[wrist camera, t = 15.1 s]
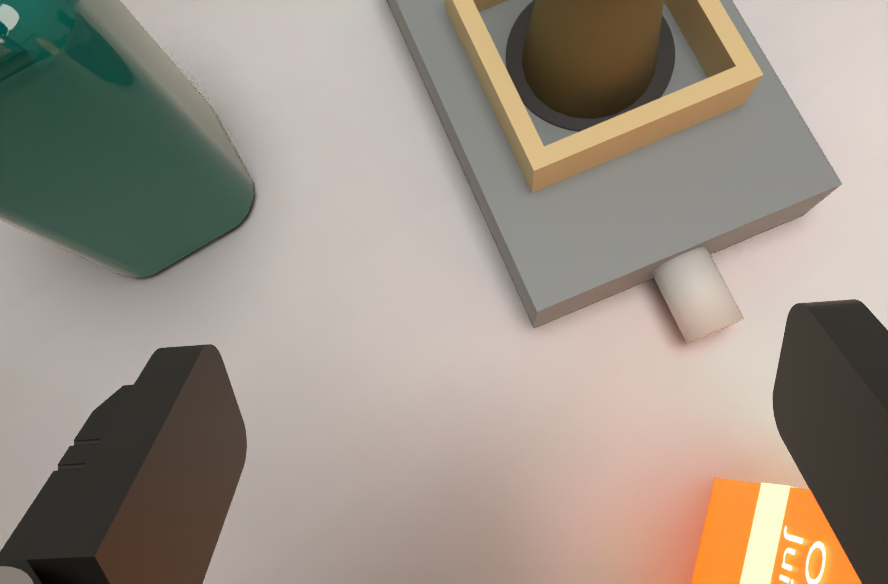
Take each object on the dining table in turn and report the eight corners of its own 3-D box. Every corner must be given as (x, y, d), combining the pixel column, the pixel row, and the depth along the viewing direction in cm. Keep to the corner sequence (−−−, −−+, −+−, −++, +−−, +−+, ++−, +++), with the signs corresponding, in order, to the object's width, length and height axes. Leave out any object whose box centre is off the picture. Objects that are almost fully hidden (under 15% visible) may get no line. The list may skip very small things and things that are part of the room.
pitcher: (65, 165, 38) (-516, -212, 16) (201, 86, 38) (-193, -383, 17) (137, 317, 35) (-431, 110, 14) (282, 232, 36) (-58, -97, 14)
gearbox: (385, -4, 38) (360, -94, 32) (620, -102, 38) (643, -212, 32) (564, 396, 32) (577, 382, 26) (840, 280, 33) (920, 238, 26)
